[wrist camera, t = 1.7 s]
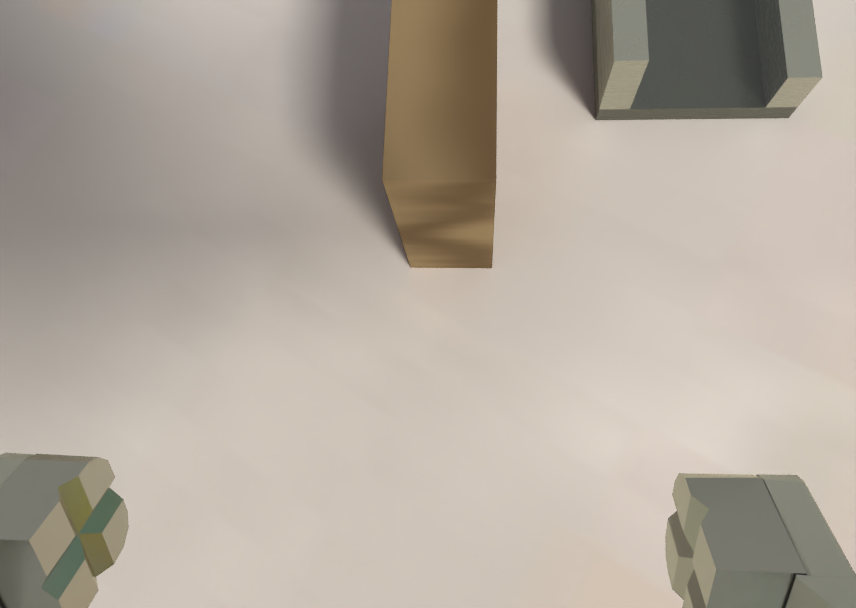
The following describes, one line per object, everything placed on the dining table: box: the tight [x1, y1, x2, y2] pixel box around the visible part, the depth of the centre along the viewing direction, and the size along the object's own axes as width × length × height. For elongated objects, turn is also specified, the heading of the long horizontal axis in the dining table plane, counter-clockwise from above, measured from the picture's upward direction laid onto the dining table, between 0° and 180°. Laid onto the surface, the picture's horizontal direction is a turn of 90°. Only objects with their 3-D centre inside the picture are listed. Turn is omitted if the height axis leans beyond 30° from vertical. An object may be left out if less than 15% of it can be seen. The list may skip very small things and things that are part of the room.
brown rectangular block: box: [382, 0, 497, 268], centre depth 30 cm, size 4×10×10 cm, turn 178°
